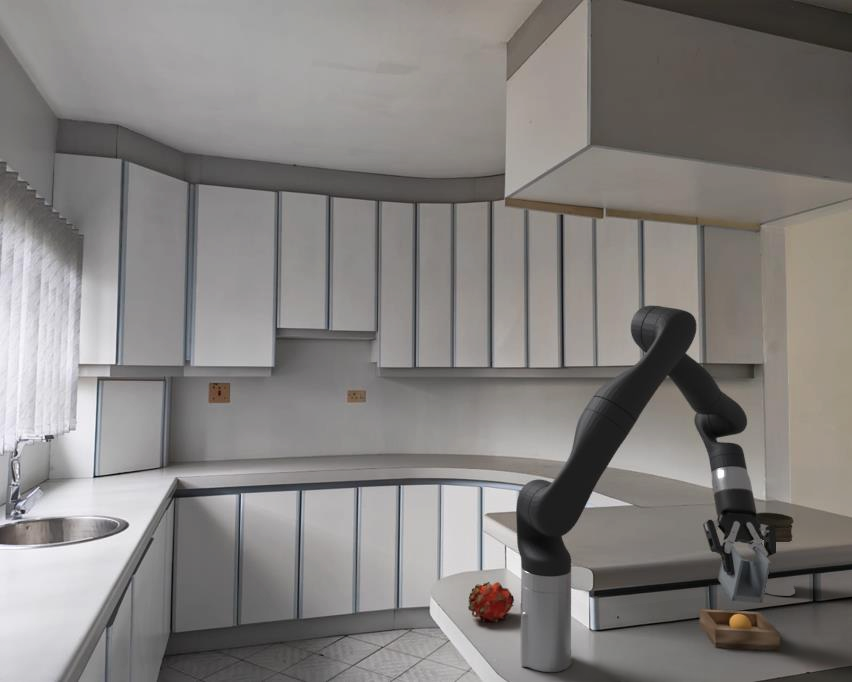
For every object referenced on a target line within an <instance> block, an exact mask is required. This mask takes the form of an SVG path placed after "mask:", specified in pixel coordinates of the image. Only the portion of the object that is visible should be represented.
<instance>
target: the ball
mask: <svg viewBox="0 0 852 682" xmlns="http://www.w3.org/2000/svg"><path fill="white" fill-rule="evenodd" d="M730 627H731V628H738V629H751V622H750V620H749V619H748V618H747V617H746V616H744V615H742V614H735V615H733V616H732V617H731V619H730Z"/></svg>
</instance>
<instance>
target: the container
mask: <svg viewBox="0 0 852 682" xmlns="http://www.w3.org/2000/svg"><path fill="white" fill-rule="evenodd" d="M756 515H757V519H758V521H759V522H760V524H763V525H771V524H772V525H774V526H775V535H776V542H790V541H792V542H793V534H792V529H793V523H794V518H793V517H792V516H790V515H787V514H783V513H777V512H756ZM757 534H758V536H759V537H760V539H762V540H764V536H763V535H762V533H761V531H760V530H759V531H758V533H757Z"/></svg>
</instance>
